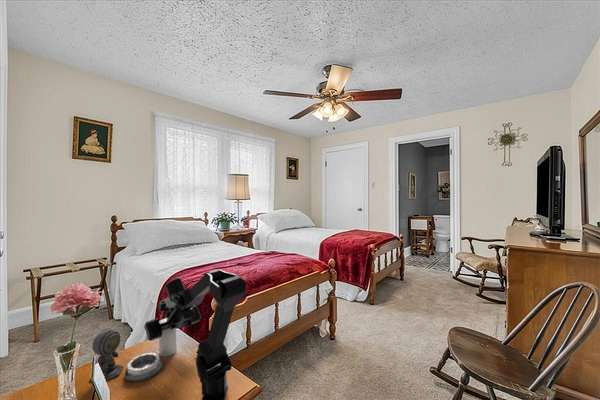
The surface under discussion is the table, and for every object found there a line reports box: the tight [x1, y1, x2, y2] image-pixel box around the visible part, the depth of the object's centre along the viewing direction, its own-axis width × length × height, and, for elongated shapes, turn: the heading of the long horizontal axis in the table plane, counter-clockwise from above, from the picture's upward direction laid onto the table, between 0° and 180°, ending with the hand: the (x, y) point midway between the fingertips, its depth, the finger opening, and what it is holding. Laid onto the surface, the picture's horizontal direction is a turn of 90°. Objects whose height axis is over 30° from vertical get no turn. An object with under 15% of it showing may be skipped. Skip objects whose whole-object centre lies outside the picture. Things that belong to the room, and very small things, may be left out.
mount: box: [124, 352, 163, 383], centre depth 94 cm, size 11×11×4 cm
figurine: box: [88, 329, 124, 383], centre depth 92 cm, size 9×10×15 cm
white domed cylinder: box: [158, 318, 178, 357], centre depth 104 cm, size 6×6×12 cm
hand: (167, 331), depth 104 cm, fingers open, 9 cm apart
